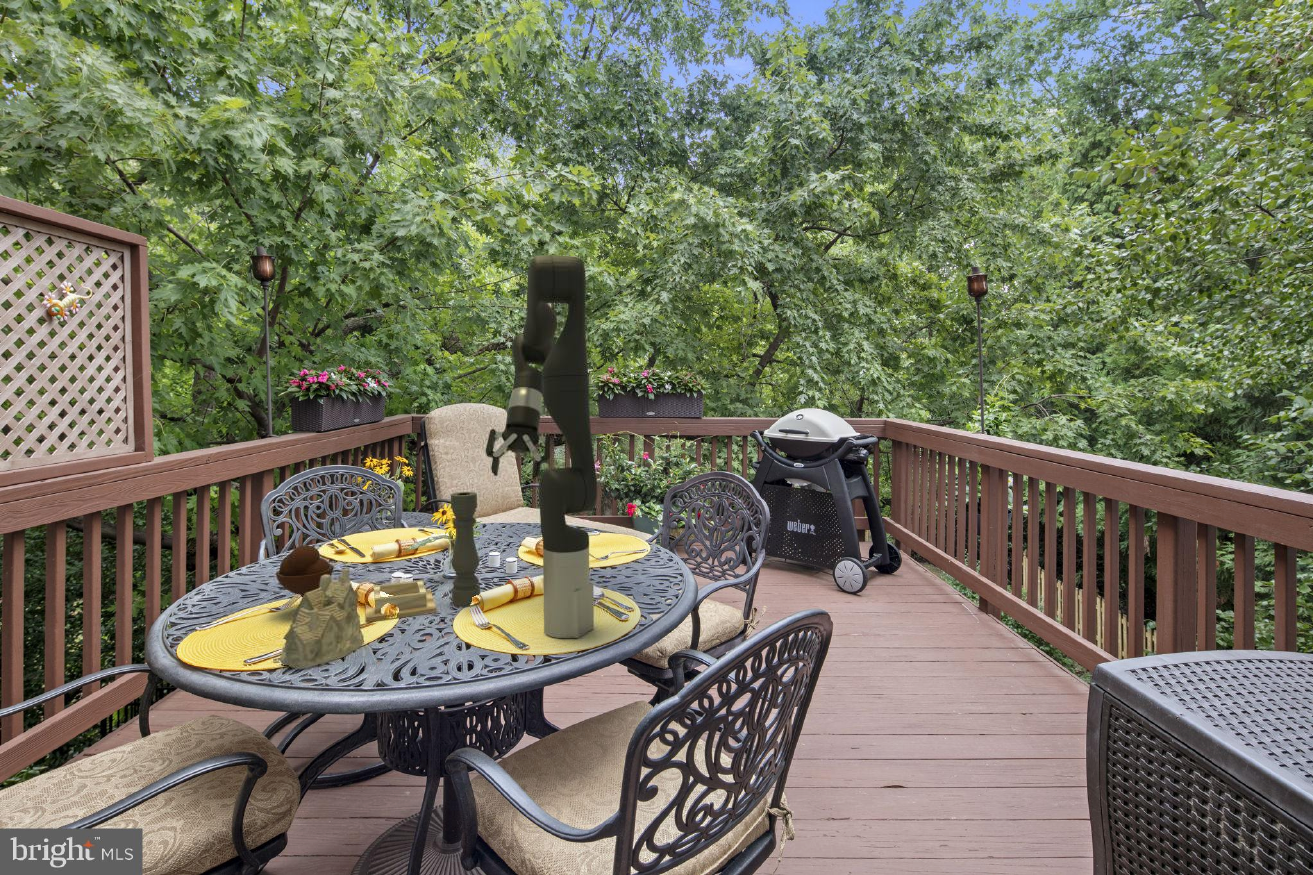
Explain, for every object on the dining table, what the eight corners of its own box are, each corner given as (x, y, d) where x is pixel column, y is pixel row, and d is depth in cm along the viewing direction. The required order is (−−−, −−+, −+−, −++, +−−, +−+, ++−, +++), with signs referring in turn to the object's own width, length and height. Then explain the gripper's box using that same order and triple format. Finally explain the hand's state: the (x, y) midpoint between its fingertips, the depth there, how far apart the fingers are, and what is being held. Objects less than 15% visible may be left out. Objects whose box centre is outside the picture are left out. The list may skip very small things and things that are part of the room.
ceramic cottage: (329, 625, 133) (323, 555, 130) (381, 644, 125) (375, 570, 122) (250, 657, 119) (242, 580, 117) (303, 681, 111) (295, 599, 109)
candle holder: (472, 607, 143) (469, 497, 141) (446, 605, 145) (444, 495, 143) (485, 598, 150) (482, 492, 147) (460, 596, 151) (458, 491, 149)
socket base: (436, 612, 140) (435, 594, 140) (366, 622, 135) (365, 603, 134) (430, 593, 153) (429, 576, 153) (365, 601, 147) (365, 584, 147)
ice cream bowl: (346, 607, 144) (343, 541, 142) (299, 624, 133) (296, 553, 132) (313, 600, 148) (310, 536, 147) (266, 616, 138) (263, 547, 137)
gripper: (492, 400, 145) (480, 468, 139) (555, 407, 147) (546, 474, 141) (495, 414, 152) (484, 478, 146) (555, 420, 154) (547, 485, 148)
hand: (514, 476), depth 144 cm, fingers open, 8 cm apart
